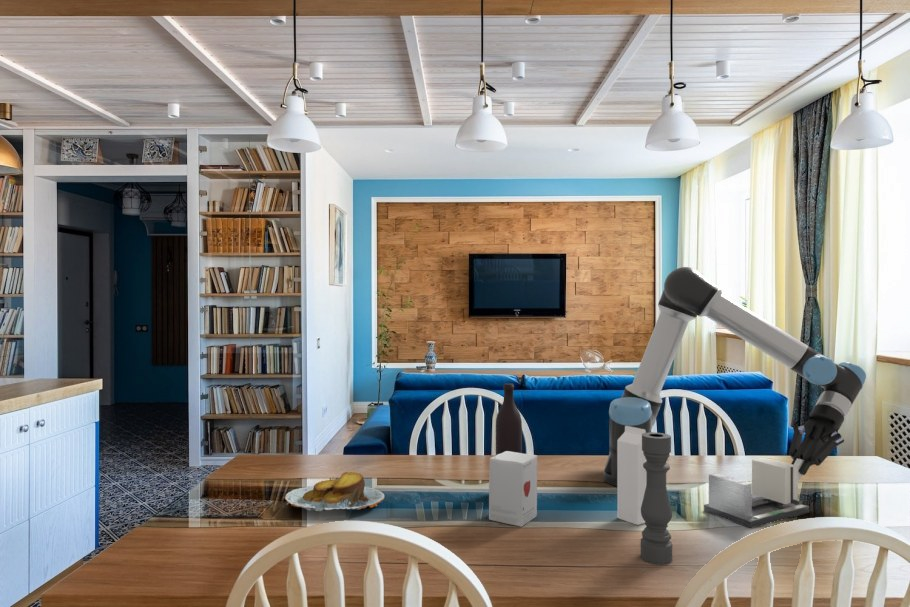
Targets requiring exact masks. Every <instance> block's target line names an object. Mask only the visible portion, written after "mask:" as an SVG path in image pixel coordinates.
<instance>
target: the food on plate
mask: <svg viewBox="0 0 910 607" xmlns="http://www.w3.org/2000/svg"><path fill="white" fill-rule="evenodd" d="M385 498H386V497H385V494H384V492H383V491H380V490H379V489H376V488H374V487H371V486H366V483H365V479H364V477H363V475H362V474H361V473H357V472H353V471H351V472H348V471H345V472H343V473H342V474H341V476H339V479H336V478H335V479H326V480H321V481H319V482H317V483H315V484H314V485H308V486H305V487H303V488H302V487H299V488H295V489H292V490H290V491H288V492H287V493H286V494H285V496H284V500H286V502H287V503H286V505H287V506H288V505H289V504H291V505H290V506H291V507H292V506H293V507H295V508H302V509H305V510H306V511H309V512H311V510H313V511H316V512H322V511H330V510H340V509H341V510H347V511H348V510H361V509H366V508H367V507H369V508H374V507H377V506H378V504H379V503H381V502H382V501H383V500H384V499H385Z"/></svg>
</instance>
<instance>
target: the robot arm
mask: <svg viewBox="0 0 910 607" xmlns="http://www.w3.org/2000/svg"><path fill="white" fill-rule="evenodd" d="M657 306H658V309H659V310H660V313H659V315H658V318H657V320H656V322H655V325H654V328H653V330H652V332H651V336H650V338H649V339H648V344H647V345H646V348H645V351H644V353H643V356H642V358H641V361H640V363H639V366H638V368H637V371H636V374H635V376H634V379H633V381H632V383H631V384H628V385H626V386H625V387H624V391H623V392H622V395H621V397H619V398H615V399H613V400H612V401H610V404H609V409H608V416H609V454H608V458H607V460H606V462H605V465H604V469H603V474H602V476H603V478H602V479H603V481H604V482H605V483H607V484H609V485H611V486H615V487H617V440H618V439H619V438H620V437H621V436H622V434H623V433H624V432H625V426H630V427H635V428H640V429H645V430H646V433H650V432H652V429H653V427H654V425H655V423H656V420H657V416H658V414H659V411H660V409H661V406H662V403H663V399H662V397H661V392H662V390H663V387H664V385H665V382H666V379H667V377H668V374H669V372H670V370H671V368H672V364H673V362H674V359H675V357H676V354H677V352H678V350H679V347H680V345H681V342H682V339H683V338H684V334H685V332H686V330H687V327H688V324H689V322H691V321H693V320H695V319H697V316H698V317H700V318H701V317H707V319H710V320H711V321H713V322H715V323H716V324H718V325H719V326H721V327H722V328H724V329H726V330H727V331H730V333H732V334H733V335H735V336H737V337H738V338H740V339H741V340H743V341H745V342H747V343H748V344H749V345H751V346H753V347H755V349H758V350H759V351H761V352H762V353H764V354H766V355H767V356H769V357H770V358H772V359H773V360H776V361H777V362H779V363H780V364H782V365H783V366H784V367H786V368H788V369H790V370H791V371H792V372H794V373H796V374H798V375H799V376H800V377H802V378H804V379H805V380H806V381H807V382H809V383H810V384H813V385H815V386H816V385H817V386H819V387H821V388H823V391H822V392H821V394H820V396H819V397H818V399H817V400H816V403H815V405H814V407H813V408H812V410H811V412H810V413H809V417H808V419H807V421H805V423H804V424H803V425H800V426H798V424H796V425H793V426H792V430H793V434H792V438H791V443H790V446H789V450H788V455H789V456H790V458H791V459H792V461H791V463H790V464H793V465H797V466H798V483H799V482H800V480H801V478H802V476H805V475H807V473H808V471H809V468H810V467H811V466H813V465H814V466H817V467H819V466H820V465H821V464H823V462H824V461H825V460H826V459H827V458H828V457H829V456H830V454H832V452H833V451H835V449H836V448H837V447H838V446H839V445H841V444H842V443H844V442H845V440H844V438H843V436H842V435H841V433H839V430H840V429H841V426H842V425H843V423H844V422H845V419H846V417H847V416H848V413H849V412H850V410H851V408H852V406H853V404H854V402H855V400H856V399H857V397H858V395H859V393H860V392H861V390H862V389H863V387H864V384H865V382H866V379H867V373H866V371H865V370H864V369H863V368H862V367H861V366H860V365H858V364H856V363H854V364H853V363H851V362H849V361H843V362H840V363H839V364H838V363H835V362H834V361H833V360H832V359H831V358H829V357H828V356H826V355H823V354H822V353H820V352H818V351H817V350H815V349H814V348H812V347H811V346H808V344H805V343H804V342H802V341H801V340H799V339H797V338H796V337H794V336H793V335H791V334H789V333H788V332H787V331H785V330H783V329H782V328H780V327H778V326H776V325H774V324H773V323H772V322H769V321H768V320H766V319H765V318H763V317H762V316H760V315H758V314H757V313H755V312H754V311H751V310H750V309H749V308H747V307H745V306H744V305H742V304H741V303H739V302H737V301H735V300H733V299H732V298H730V297H728V296H727V295H726V294H724V293H723V292H722V288H721V287H720V286H719V285H718V286H717V284H715V283H713V282H712V281H710V280H709V279H708V278H707V277H706V276H705V275H703V273H702V272H700V271H699V270H697V269H696V268H693V267H689V266H682V267H679V268H676V269H674V270H672V271H671V272H670V273H669V274H668V275H667V276H666V278H665V281H664V284H663V290H662V293H661V295H660V298H659V300H658V304H657ZM803 436H804V438H803Z"/></svg>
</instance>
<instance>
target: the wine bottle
mask: <svg viewBox="0 0 910 607" xmlns="http://www.w3.org/2000/svg"><path fill="white" fill-rule="evenodd" d="M502 387H503V388H502V389H503V402H502V403H501V406H500V407H499V410H498V411H497V415H496V418H495V456H496V455H498V454H501V453H503V452H505V451H511V452H517V453H523V424H522V422H523V421H522V417H521V414H520V411H519V409H518V407H517V405H516V403H515V398H514V390H515V385H514V383H503V386H502Z"/></svg>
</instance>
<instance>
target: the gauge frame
mask: <svg viewBox="0 0 910 607" xmlns="http://www.w3.org/2000/svg"><path fill="white" fill-rule="evenodd" d="M703 511H704V512H706V513H708V514H711V515H715V516H716V517H719V518H722V519H725V520H728V521H730V522H733V523H736V524H737V525H742V526H743V527H746V528H749V529H753V528H756V527H759V526H764V525H768V524H770V522H772V523H775V522H778V521H777V520H779V521H782V520H781V519H783V520H786V519H785V518H787V519H789V518H788V517H791V518H794V517H797V516H802V515H805V514H808V513H810V506H809V505H805V504H802V503H799V505H795V504H792V503H788V504H783V503H780V502H776V501H773V500H770V499H767V498H764V497H760V496H757V495H754V494H752V482H748V481H744V480H740V479H737V478H733V477H731V476H728V475H725V474H724V475H723V474H721V473H717V472H715V473H709V474H708V503H707V504H703ZM793 516H794V517H793ZM774 521H775V522H774ZM767 523H768V524H767ZM752 527H753V528H752Z"/></svg>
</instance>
